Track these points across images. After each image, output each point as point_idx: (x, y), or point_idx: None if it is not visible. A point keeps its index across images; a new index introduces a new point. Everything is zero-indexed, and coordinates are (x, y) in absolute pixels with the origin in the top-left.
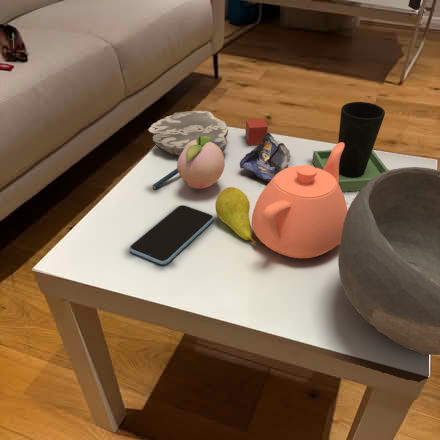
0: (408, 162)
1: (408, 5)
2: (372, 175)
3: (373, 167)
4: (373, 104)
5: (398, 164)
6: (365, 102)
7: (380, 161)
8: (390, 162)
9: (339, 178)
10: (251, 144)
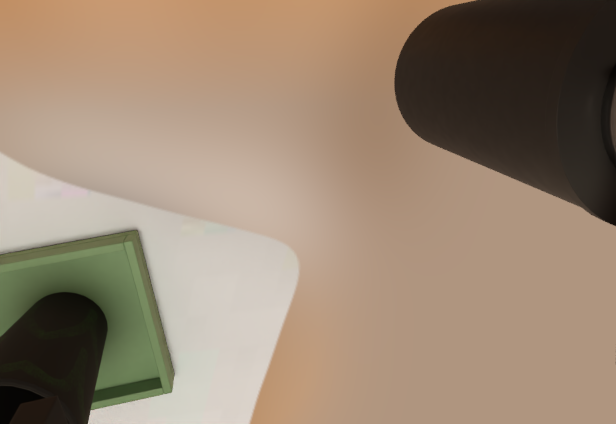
0: (248, 243)
1: (20, 408)
2: (128, 343)
3: (137, 303)
4: (44, 396)
5: (218, 256)
6: (13, 384)
7: (148, 316)
8: (197, 247)
9: None
10: None
